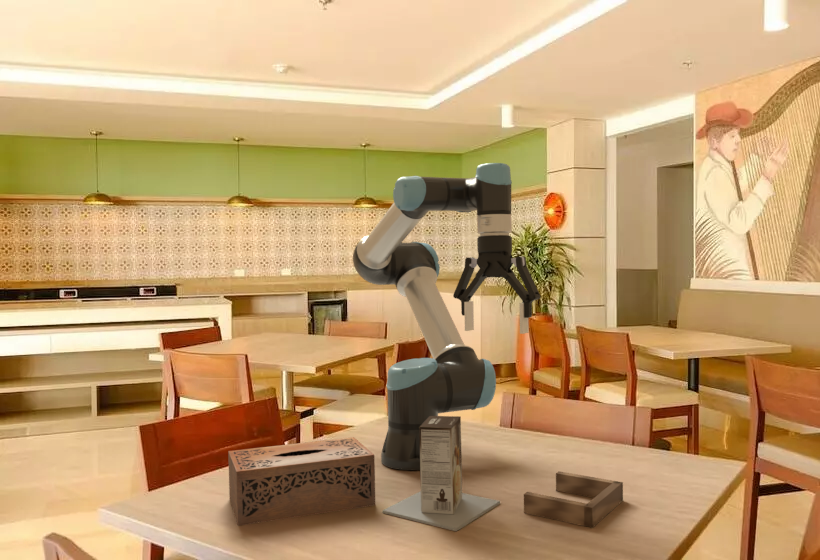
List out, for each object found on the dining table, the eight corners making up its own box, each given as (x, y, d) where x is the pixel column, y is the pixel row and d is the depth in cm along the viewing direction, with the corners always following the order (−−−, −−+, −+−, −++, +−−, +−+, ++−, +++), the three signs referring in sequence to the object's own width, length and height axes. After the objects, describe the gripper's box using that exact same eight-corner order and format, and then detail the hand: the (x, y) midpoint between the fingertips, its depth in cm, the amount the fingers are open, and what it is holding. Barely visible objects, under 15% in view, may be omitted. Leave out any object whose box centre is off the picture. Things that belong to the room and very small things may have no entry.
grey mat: (382, 512, 127) (382, 510, 127) (430, 488, 140) (430, 486, 140) (456, 531, 118) (456, 528, 118) (500, 503, 131) (500, 500, 131)
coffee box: (430, 496, 134) (429, 414, 134) (462, 498, 133) (461, 415, 132) (420, 513, 125) (418, 426, 125) (454, 515, 124) (453, 427, 123)
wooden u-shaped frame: (524, 512, 126) (523, 494, 126) (559, 488, 139) (558, 471, 139) (592, 527, 118) (592, 507, 118) (622, 500, 131) (622, 482, 131)
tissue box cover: (237, 527, 123) (236, 471, 122) (229, 501, 136) (228, 451, 136) (375, 506, 132) (374, 454, 131) (354, 484, 145) (353, 437, 145)
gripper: (437, 236, 154) (439, 330, 155) (539, 232, 140) (541, 336, 140) (454, 237, 160) (456, 327, 161) (554, 233, 146) (556, 332, 146)
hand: (496, 331), depth 151 cm, fingers open, 13 cm apart
